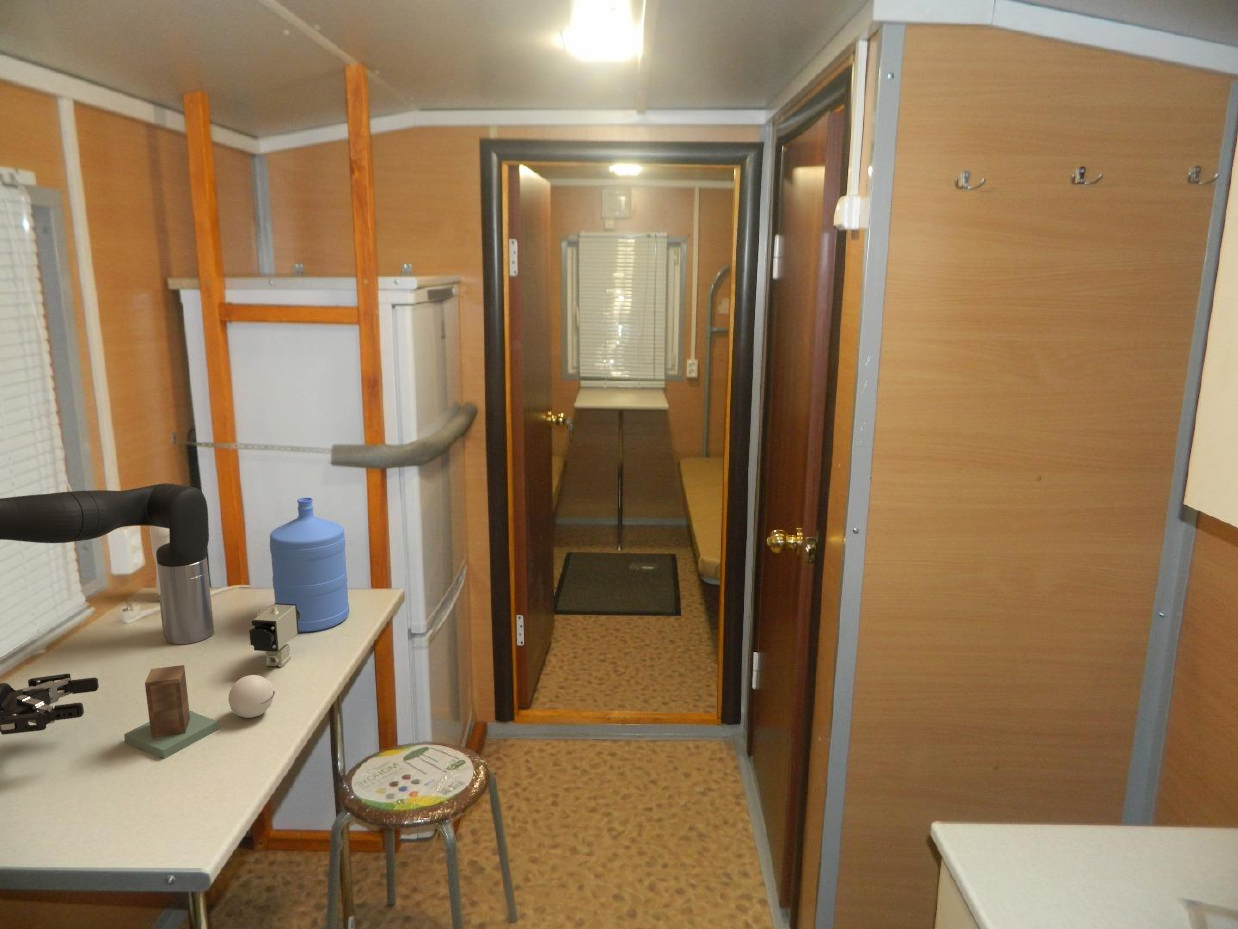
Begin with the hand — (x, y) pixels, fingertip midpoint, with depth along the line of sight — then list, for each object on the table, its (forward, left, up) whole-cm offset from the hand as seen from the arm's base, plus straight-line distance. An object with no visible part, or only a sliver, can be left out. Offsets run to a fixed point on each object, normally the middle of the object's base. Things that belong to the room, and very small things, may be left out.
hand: (90, 696), depth 134 cm
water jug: (-8, +54, -9) cm, 55 cm away
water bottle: (-46, +47, -9) cm, 66 cm away
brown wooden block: (+8, +8, -7) cm, 13 cm away
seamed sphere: (+14, +20, -9) cm, 26 cm away
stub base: (+8, +8, -9) cm, 14 cm away
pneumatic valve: (+2, +35, -9) cm, 36 cm away
